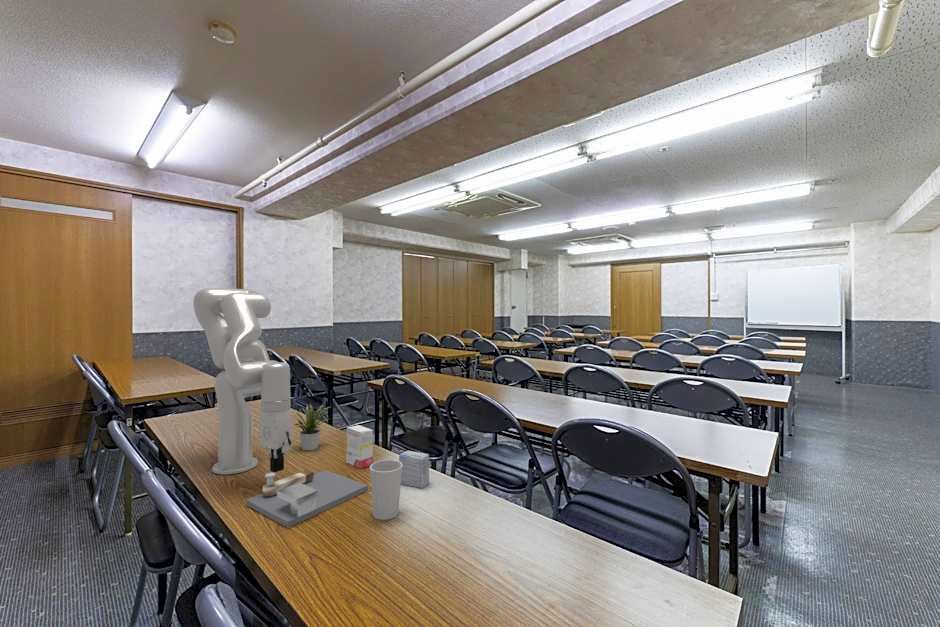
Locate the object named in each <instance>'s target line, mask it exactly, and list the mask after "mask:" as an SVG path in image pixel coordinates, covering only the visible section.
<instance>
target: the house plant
mask: <svg viewBox="0 0 940 627" xmlns="http://www.w3.org/2000/svg"><path fill="white" fill-rule="evenodd" d="M309 406H310V407H309ZM309 406H308V405H306V407H305V414H306V415H305V420H304V418H303V417H302V415H301V414H300V412H297V411H296V410H293V409H291V411H293V412H294V413H296V415H297V416H298V417H299V418H300V419H296V420H297V422H298V423H294V424H293V425H294V426H296V427H299V428H301V430H300V432H299V436H300V440H301V441H300V442H301V448H302V451H304V450H312V451H315V450H314V449H316V448H317V449H319V441H320V436H321V429H319V428H320V426H321V425H322V424H323V423H324V422H326V421H328V418H326V419H321V417H322V416H323V415H325V414H326V413H327V411H325V410H326V409H330V408H331V406H328V407H324V408H323V409H322V407H323V406H324V404H323V405H320V406H319V407H318V408H317V409H316V411H315V410H314V409H313V408H314V407H313V405H312V404H311V403H309ZM324 411H325V412H324ZM330 419H331V418H329V420H330ZM320 422H321V423H320ZM317 449H316V450H317Z"/></svg>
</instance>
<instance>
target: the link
mask: <svg viewBox="0 0 940 627" xmlns="http://www.w3.org/2000/svg"><path fill="white" fill-rule="evenodd" d="M314 474H315V473H314V471H312V470H310V469H305V470H303V471H300V472H297V473H295V474H292V475H289V476H286V477H283V478H281V479H278V480H274V484H273V485H271V486H267V483H265V484H263V485H262V494H263V496H272V495H275V494H277V491H279V490H281V489H284V488H286V487H289V486H292V485H294V484H297V483H305V482H308V481H311V480H313V479H314Z"/></svg>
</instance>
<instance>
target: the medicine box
mask: <svg viewBox="0 0 940 627" xmlns="http://www.w3.org/2000/svg"><path fill="white" fill-rule="evenodd" d="M398 461H399V462H401V463H402V475H401V485H404V486H408V485H409V487H413V486H414V487H413V488H418V487H419V488H420V489H423V488H424V487H426V486H427V485H428V484H430V454H429V453H424V452H418V451H413V450H405V451H403V452H402V453H401V454H399V455H398ZM419 488H418V489H419Z"/></svg>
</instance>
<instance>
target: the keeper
mask: <svg viewBox="0 0 940 627" xmlns="http://www.w3.org/2000/svg"><path fill="white" fill-rule="evenodd" d="M277 497H278V498H280V499H282V500H284V501H287V502H289V503H291V514H292V515H294V516H296V517H300V516H302V515H304V514H306V513H308V512H311V511H313V510H315V509H316V497H318V490H316V489H313V488H311V487H309V486H306V485H304V484H302V483H297V484H294V485H292V486H289V487H286V488H284V489H281V490H279V491H277Z"/></svg>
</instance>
